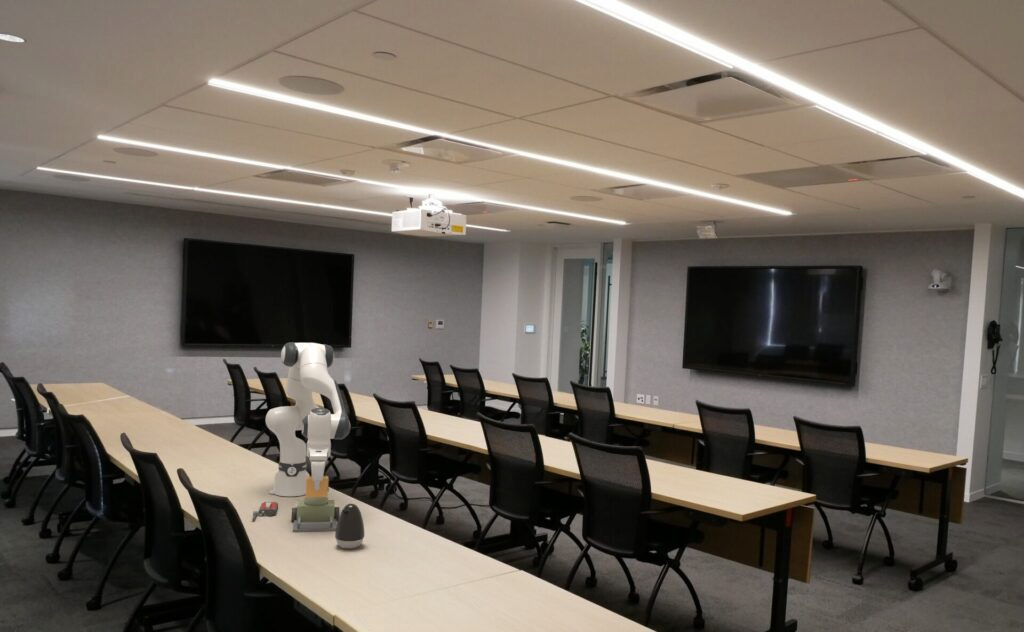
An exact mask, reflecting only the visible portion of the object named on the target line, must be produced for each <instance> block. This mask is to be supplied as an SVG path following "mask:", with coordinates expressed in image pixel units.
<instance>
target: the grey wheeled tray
mask: <svg viewBox="0 0 1024 632" xmlns="http://www.w3.org/2000/svg"><path fill="white" fill-rule="evenodd" d="M339 517H340V506H336V505H335V499H329V498H328V497H309V498H306V497H305V498H304V499H302V500H301V499H299V500H297V505H296V507H291V519H290V520H291V522H293V525H292V533H308V532H309V533H316V532H336V527H337V523H338V519H339Z"/></svg>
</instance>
